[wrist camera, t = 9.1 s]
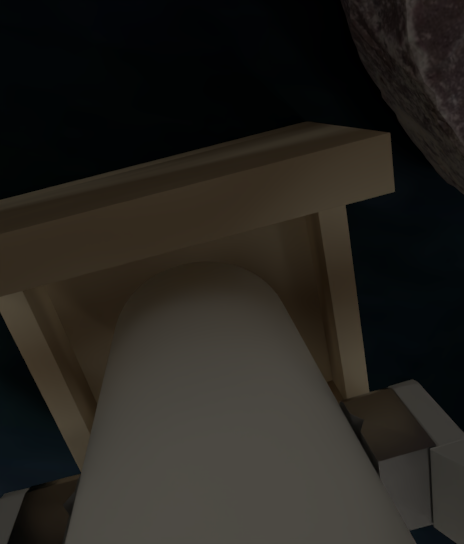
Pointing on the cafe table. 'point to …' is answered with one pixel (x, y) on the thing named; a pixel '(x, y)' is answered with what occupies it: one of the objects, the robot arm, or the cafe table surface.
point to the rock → (418, 71)
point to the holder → (189, 251)
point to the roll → (222, 427)
